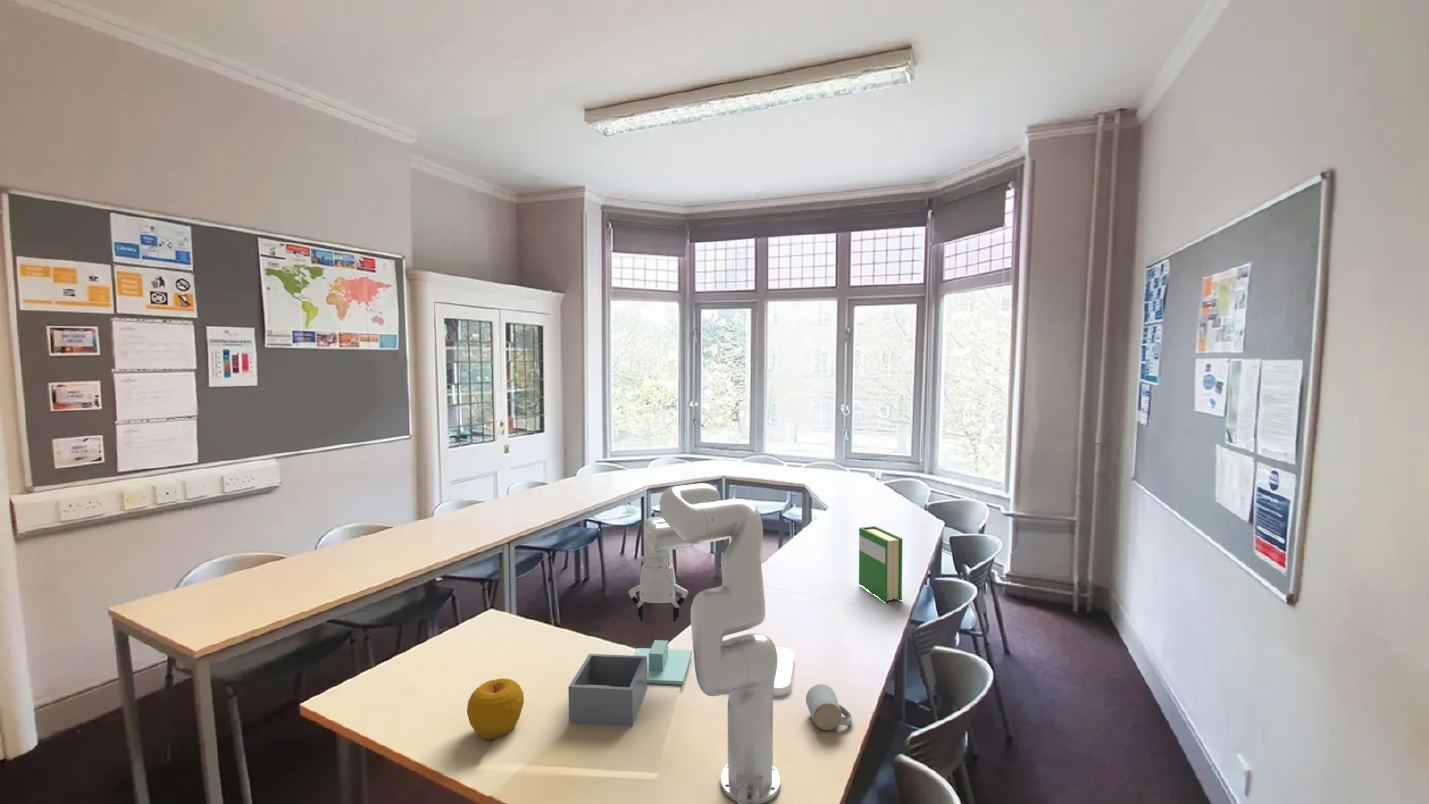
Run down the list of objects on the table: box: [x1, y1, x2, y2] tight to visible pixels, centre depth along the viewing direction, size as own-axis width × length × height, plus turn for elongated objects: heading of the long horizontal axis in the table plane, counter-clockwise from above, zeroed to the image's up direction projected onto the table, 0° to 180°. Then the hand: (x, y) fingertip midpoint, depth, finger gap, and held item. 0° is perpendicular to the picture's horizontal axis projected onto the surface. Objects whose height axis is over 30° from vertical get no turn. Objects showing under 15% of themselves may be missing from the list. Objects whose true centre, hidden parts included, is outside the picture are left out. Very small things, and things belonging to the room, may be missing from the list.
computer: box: [773, 646, 795, 697], centre depth 161 cm, size 22×22×3 cm
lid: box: [633, 639, 693, 685], centre depth 161 cm, size 17×17×8 cm
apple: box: [466, 677, 525, 741], centre depth 135 cm, size 13×13×11 cm
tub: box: [567, 653, 648, 727], centre depth 143 cm, size 16×16×10 cm
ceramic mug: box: [805, 683, 853, 731], centre depth 137 cm, size 11×8×8 cm
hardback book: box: [858, 525, 903, 603], centre depth 216 cm, size 18×7×24 cm, turn 18°
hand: (659, 619), depth 160 cm, fingers open, 9 cm apart
